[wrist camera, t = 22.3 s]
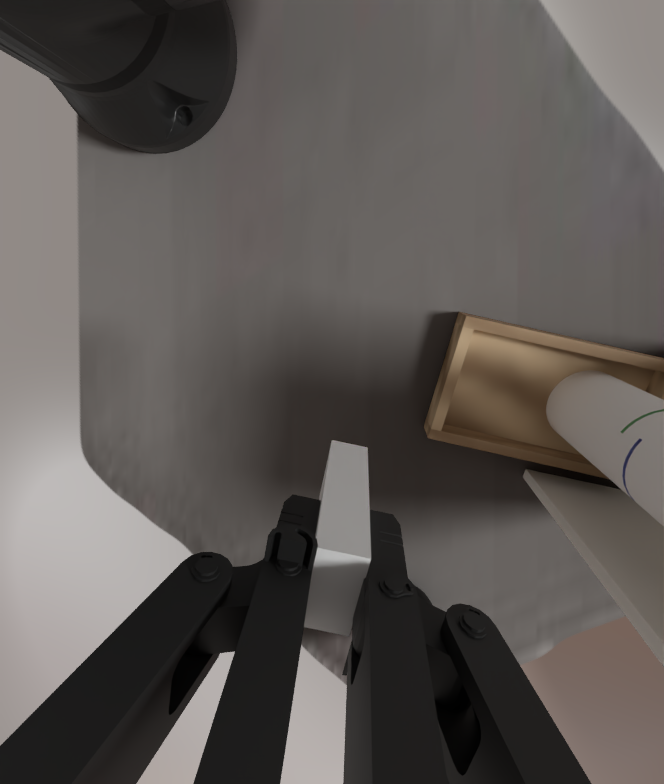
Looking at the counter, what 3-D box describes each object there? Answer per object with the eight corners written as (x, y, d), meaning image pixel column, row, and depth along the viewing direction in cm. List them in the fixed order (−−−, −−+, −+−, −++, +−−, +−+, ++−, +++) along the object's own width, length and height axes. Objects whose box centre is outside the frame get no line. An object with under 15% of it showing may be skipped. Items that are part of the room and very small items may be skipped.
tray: (458, 311, 39) (466, 315, 36) (665, 358, 39) (689, 366, 36) (423, 426, 43) (427, 438, 40) (612, 469, 43) (630, 484, 40)
